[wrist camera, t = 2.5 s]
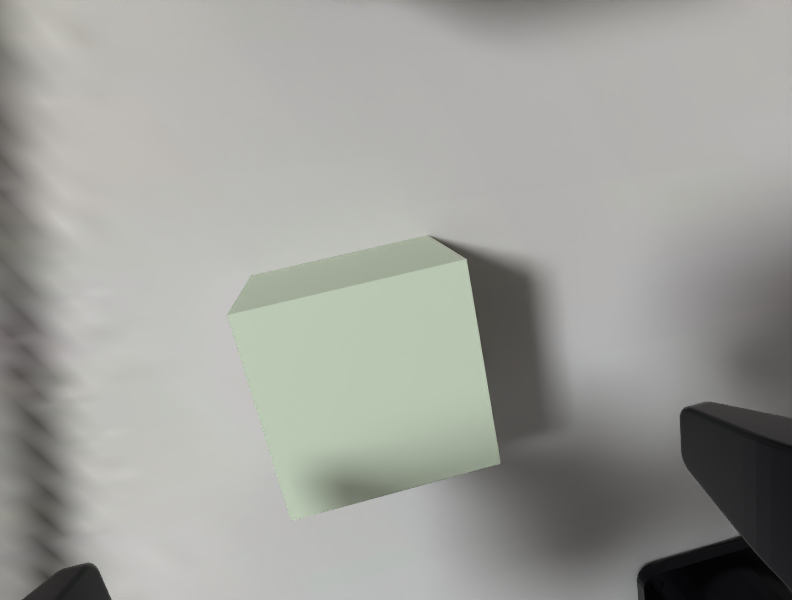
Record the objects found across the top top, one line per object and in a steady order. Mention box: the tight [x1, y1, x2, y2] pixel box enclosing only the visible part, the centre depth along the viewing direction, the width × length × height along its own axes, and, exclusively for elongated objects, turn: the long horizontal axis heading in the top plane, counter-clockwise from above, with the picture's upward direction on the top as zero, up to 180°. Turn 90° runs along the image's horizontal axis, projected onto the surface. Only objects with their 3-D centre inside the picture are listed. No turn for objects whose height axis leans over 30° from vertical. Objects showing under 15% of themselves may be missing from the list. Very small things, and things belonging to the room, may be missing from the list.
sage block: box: [227, 235, 501, 521], centre depth 13 cm, size 5×5×4 cm
